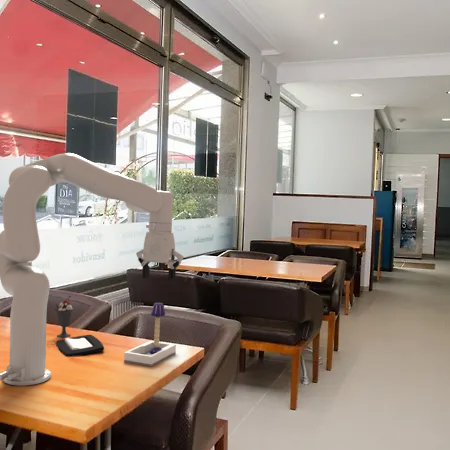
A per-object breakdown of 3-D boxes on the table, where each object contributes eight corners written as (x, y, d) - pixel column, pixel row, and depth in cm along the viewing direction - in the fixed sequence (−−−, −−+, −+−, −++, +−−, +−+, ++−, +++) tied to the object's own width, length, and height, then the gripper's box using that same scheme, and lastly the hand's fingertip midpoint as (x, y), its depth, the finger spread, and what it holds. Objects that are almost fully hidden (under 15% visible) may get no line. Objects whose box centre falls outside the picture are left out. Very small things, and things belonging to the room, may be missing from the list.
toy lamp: (152, 350, 177) (153, 301, 176) (165, 351, 176) (166, 302, 176) (148, 353, 172) (149, 304, 172) (161, 355, 172) (163, 304, 171)
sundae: (77, 335, 195) (77, 295, 195) (62, 339, 189) (63, 298, 189) (65, 332, 199) (65, 293, 198) (50, 336, 193) (51, 296, 192)
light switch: (53, 337, 185) (92, 330, 191) (53, 345, 185) (92, 338, 192) (64, 352, 168) (107, 344, 174) (65, 361, 168) (107, 352, 174)
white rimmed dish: (151, 366, 161) (151, 356, 161) (124, 361, 165) (124, 352, 165) (175, 353, 176) (175, 344, 176) (149, 349, 180) (150, 340, 180)
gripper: (132, 227, 173) (130, 278, 173) (178, 229, 166) (176, 283, 167) (143, 226, 180) (142, 275, 180) (188, 229, 173) (186, 280, 174)
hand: (158, 279), depth 173 cm, fingers open, 9 cm apart
